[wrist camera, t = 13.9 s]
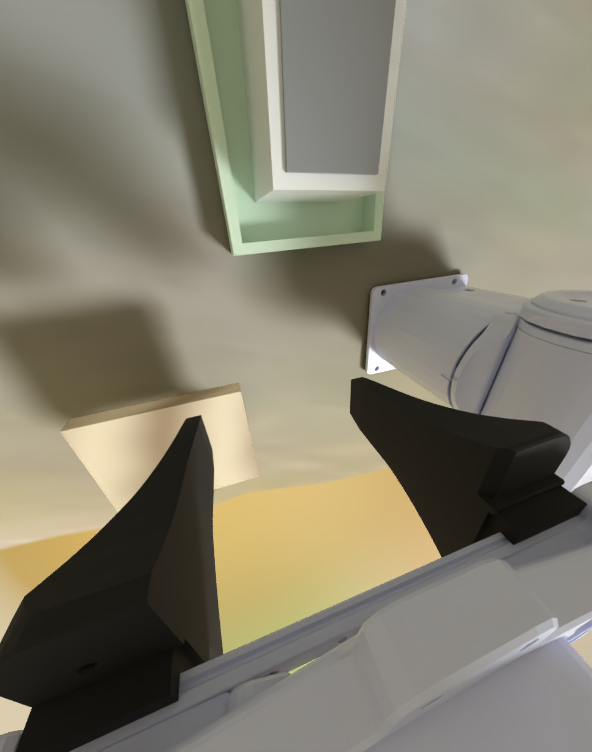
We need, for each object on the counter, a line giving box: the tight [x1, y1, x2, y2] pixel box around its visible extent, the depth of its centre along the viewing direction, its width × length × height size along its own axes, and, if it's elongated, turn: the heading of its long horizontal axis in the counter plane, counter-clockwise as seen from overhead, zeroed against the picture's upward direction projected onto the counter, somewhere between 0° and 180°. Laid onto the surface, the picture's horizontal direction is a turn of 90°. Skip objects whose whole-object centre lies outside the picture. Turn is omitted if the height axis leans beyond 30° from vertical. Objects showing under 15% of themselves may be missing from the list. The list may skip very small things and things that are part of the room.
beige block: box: [60, 383, 259, 512], centre depth 18 cm, size 9×8×7 cm
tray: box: [185, 0, 385, 256], centre depth 14 cm, size 10×12×2 cm
